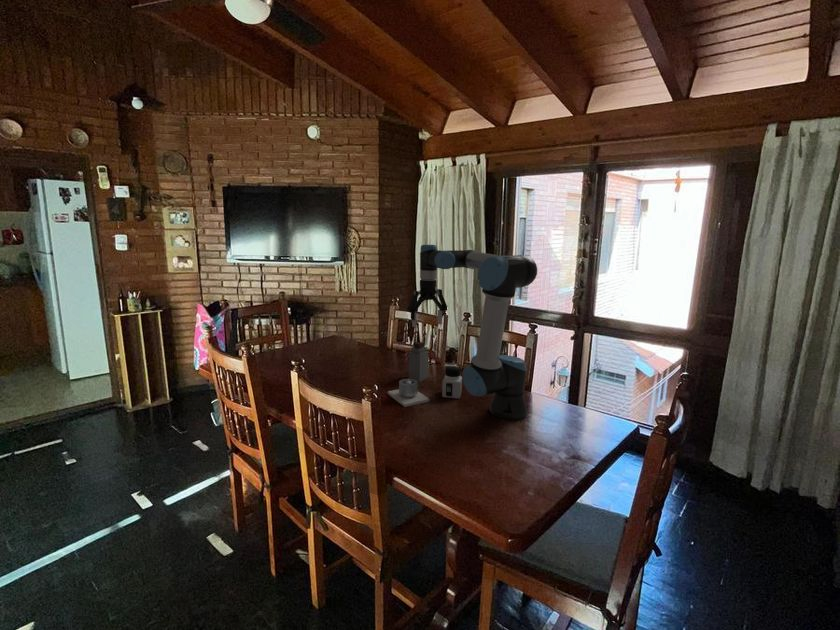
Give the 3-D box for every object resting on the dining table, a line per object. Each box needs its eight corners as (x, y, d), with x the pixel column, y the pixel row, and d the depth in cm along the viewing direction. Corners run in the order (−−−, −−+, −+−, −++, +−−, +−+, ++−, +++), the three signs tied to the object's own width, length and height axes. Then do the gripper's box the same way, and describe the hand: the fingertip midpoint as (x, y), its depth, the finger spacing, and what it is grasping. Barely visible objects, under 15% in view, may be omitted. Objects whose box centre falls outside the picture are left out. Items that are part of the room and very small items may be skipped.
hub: (420, 394, 190) (420, 383, 189) (404, 397, 186) (404, 386, 185) (411, 388, 197) (411, 377, 196) (395, 391, 193) (395, 380, 192)
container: (459, 398, 192) (460, 370, 189) (442, 397, 193) (442, 368, 191) (461, 392, 199) (462, 364, 197) (444, 390, 201) (445, 363, 198)
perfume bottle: (419, 381, 211) (420, 345, 208) (408, 378, 215) (409, 343, 212) (427, 378, 217) (428, 342, 213) (417, 375, 221) (417, 340, 217)
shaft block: (429, 401, 188) (429, 385, 187) (404, 406, 182) (404, 390, 181) (411, 389, 202) (411, 374, 200) (387, 393, 196) (387, 378, 194)
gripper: (446, 277, 207) (445, 321, 211) (399, 279, 194) (399, 326, 199) (455, 279, 200) (454, 324, 205) (407, 281, 188) (407, 330, 193)
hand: (427, 325), depth 202 cm, fingers open, 13 cm apart
